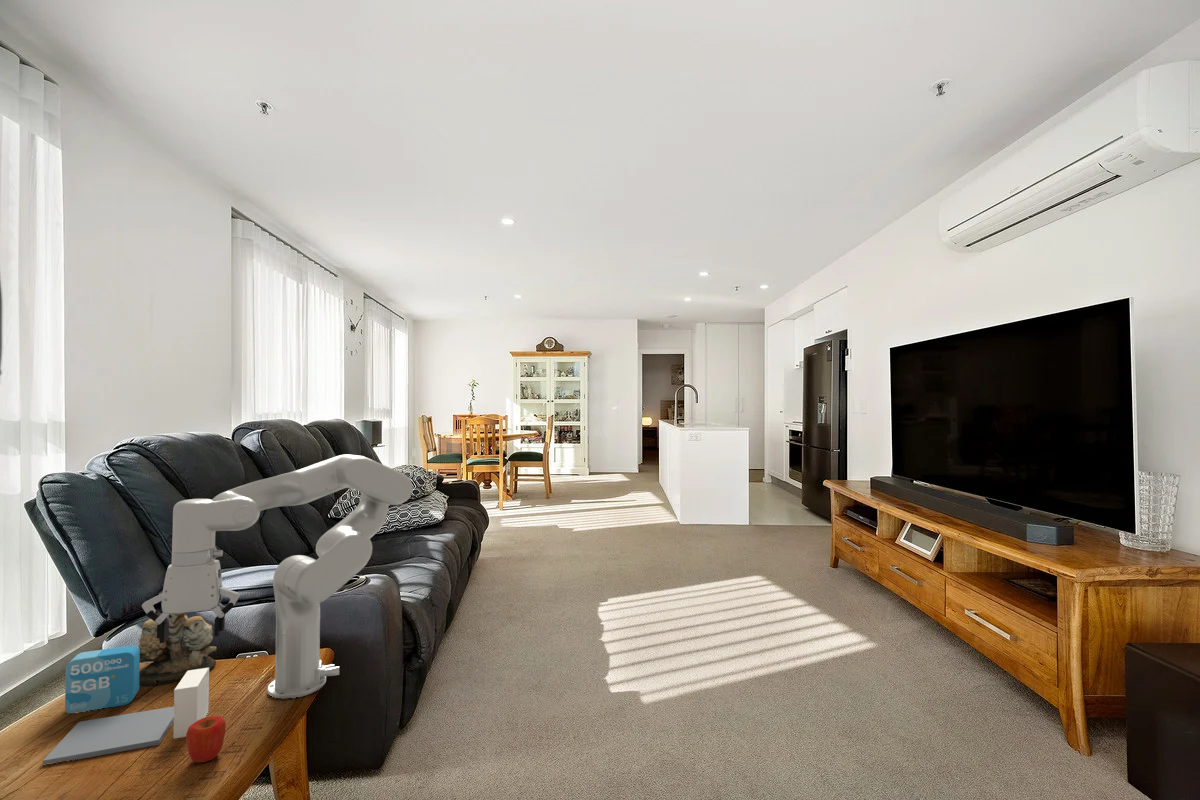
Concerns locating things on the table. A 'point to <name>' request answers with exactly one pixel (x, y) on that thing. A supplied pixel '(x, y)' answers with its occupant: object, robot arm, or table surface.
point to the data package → (102, 679)
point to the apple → (205, 738)
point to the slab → (190, 700)
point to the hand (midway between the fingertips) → (191, 637)
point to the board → (113, 735)
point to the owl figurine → (175, 649)
